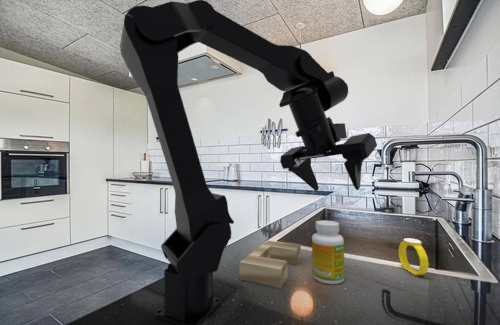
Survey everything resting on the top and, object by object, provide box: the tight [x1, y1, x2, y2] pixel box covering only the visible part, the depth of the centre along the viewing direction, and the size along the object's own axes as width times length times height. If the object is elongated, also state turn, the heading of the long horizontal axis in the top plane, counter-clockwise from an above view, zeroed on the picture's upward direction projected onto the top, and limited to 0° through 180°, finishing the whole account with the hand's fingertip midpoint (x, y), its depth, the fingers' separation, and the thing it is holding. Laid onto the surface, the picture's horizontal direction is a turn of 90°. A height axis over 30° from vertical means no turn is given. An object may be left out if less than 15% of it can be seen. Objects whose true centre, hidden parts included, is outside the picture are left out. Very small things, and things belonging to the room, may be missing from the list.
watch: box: [398, 237, 430, 276], centre depth 44 cm, size 6×3×6 cm, turn 3°
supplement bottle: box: [311, 220, 345, 285], centre depth 42 cm, size 5×5×10 cm
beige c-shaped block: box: [239, 240, 302, 289], centre depth 47 cm, size 14×8×3 cm, turn 155°
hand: (336, 189), depth 50 cm, fingers open, 9 cm apart
